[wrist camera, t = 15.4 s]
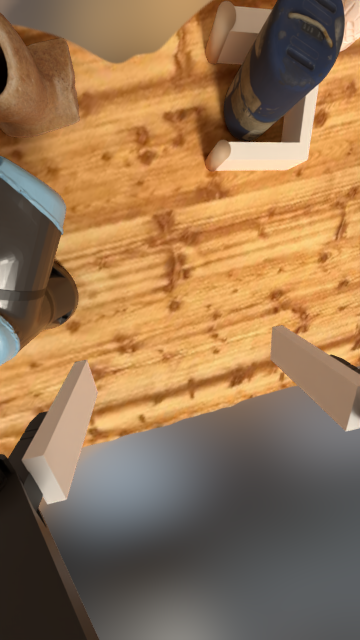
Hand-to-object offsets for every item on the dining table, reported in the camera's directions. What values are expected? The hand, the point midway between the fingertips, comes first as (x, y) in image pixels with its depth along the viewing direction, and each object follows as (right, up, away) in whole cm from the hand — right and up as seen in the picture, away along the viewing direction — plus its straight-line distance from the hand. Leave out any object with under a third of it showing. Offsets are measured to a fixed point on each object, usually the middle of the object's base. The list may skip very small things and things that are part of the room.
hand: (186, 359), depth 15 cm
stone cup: (-24, +38, +20) cm, 49 cm away
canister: (+12, +41, +24) cm, 49 cm away
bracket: (+12, +41, +24) cm, 49 cm away
